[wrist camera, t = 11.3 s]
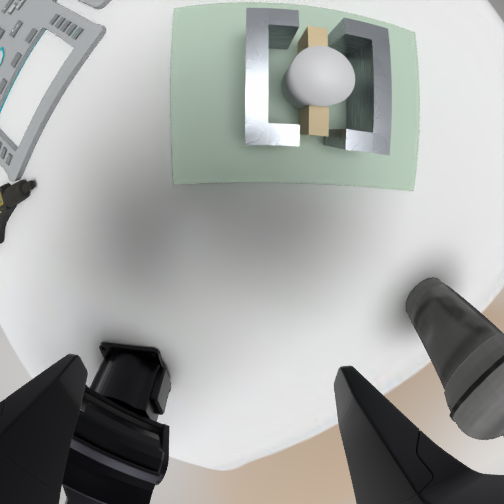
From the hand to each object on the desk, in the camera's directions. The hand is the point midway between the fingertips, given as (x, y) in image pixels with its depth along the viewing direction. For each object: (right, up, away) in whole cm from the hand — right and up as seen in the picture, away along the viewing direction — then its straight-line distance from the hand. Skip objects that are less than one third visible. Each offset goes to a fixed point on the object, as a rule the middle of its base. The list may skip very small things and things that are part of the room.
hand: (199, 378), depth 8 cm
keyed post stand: (+5, +14, +7) cm, 16 cm away
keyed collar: (+5, +14, +6) cm, 15 cm away
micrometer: (-22, +8, +10) cm, 25 cm away
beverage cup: (+18, 0, +14) cm, 23 cm away
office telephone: (-18, +23, +3) cm, 30 cm away
